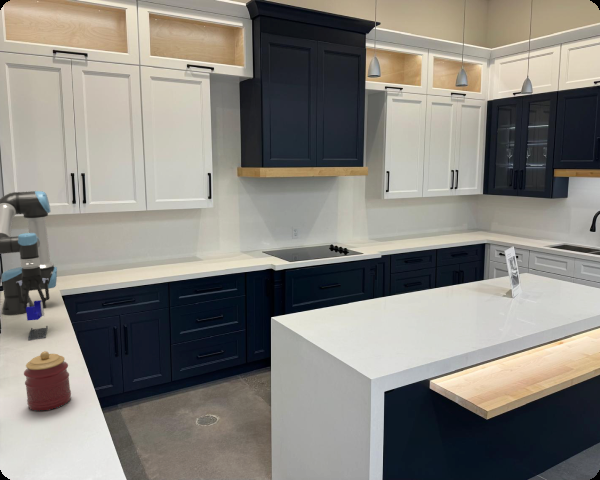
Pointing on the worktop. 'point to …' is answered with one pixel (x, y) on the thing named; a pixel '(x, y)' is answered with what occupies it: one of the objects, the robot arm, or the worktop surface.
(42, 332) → the rail
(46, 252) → the robot arm
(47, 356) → the canister
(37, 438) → the worktop surface
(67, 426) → the worktop surface
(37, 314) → the cable clip
